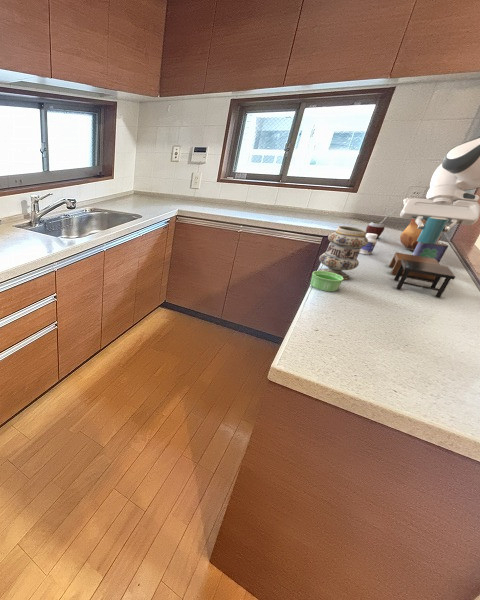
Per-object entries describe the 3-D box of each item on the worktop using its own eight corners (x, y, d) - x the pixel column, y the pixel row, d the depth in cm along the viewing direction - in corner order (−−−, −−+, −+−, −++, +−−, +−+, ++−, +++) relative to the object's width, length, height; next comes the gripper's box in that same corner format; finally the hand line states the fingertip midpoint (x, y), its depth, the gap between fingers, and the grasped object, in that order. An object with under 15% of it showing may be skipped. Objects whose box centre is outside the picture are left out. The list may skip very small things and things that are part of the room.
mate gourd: (361, 235, 179) (373, 207, 173) (379, 237, 176) (391, 209, 170) (365, 238, 173) (377, 210, 167) (383, 240, 170) (396, 211, 164)
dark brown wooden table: (435, 287, 116) (447, 266, 112) (442, 298, 107) (455, 276, 104) (392, 278, 122) (402, 258, 119) (394, 289, 114) (405, 267, 110)
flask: (409, 262, 140) (421, 237, 135) (407, 260, 142) (419, 236, 138) (438, 266, 136) (452, 241, 131) (436, 264, 138) (449, 240, 133)
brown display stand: (428, 273, 129) (435, 258, 126) (433, 282, 120) (441, 267, 117) (388, 266, 135) (395, 252, 132) (390, 274, 126) (398, 259, 124)
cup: (435, 241, 122) (447, 217, 118) (437, 245, 118) (450, 220, 114) (415, 239, 125) (427, 215, 121) (417, 242, 121) (429, 217, 117)
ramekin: (307, 280, 119) (311, 268, 117) (336, 285, 116) (341, 273, 114) (309, 288, 112) (314, 277, 110) (341, 294, 109) (346, 282, 107)
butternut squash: (396, 244, 164) (420, 193, 153) (432, 251, 156) (461, 197, 144) (393, 250, 155) (419, 196, 144) (432, 257, 147) (462, 200, 135)
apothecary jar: (359, 282, 119) (381, 234, 110) (323, 279, 120) (342, 231, 112) (341, 270, 129) (360, 225, 121) (309, 267, 131) (325, 223, 123)
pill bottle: (370, 255, 147) (379, 236, 143) (356, 252, 150) (364, 234, 146) (371, 252, 151) (379, 234, 147) (357, 250, 154) (365, 232, 150)
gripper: (408, 190, 125) (399, 220, 122) (486, 196, 114) (478, 229, 111) (401, 201, 130) (392, 229, 127) (476, 207, 119) (467, 239, 116)
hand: (433, 229), depth 119 cm, fingers closed on cup, 5 cm apart
